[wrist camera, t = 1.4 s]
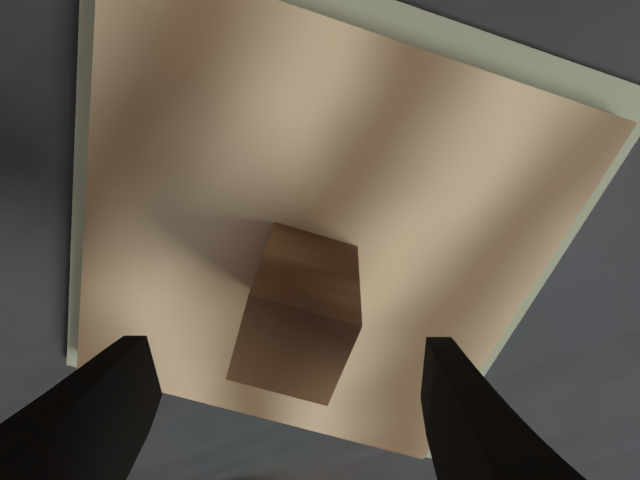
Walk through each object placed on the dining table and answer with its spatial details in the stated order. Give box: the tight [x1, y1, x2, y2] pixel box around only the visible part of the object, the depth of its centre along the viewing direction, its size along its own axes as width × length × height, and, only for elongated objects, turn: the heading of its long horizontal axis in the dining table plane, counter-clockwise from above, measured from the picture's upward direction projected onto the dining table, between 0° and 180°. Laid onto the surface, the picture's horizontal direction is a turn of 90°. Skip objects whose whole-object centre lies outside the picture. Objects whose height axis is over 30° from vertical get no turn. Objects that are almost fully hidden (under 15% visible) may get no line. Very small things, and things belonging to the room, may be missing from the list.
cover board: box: [77, 0, 637, 459], centre depth 14 cm, size 16×16×6 cm
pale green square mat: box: [67, 0, 640, 458], centre depth 16 cm, size 18×18×1 cm
